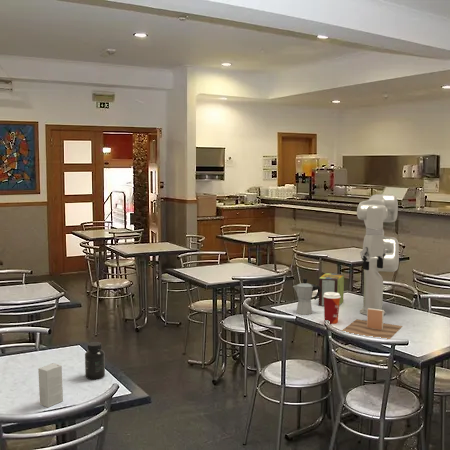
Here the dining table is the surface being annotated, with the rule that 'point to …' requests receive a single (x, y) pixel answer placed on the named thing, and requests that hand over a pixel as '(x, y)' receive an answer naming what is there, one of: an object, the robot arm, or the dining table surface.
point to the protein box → (331, 286)
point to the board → (362, 329)
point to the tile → (375, 318)
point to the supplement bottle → (94, 361)
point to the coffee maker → (305, 296)
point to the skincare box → (50, 385)
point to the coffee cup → (331, 306)
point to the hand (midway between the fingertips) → (372, 268)
